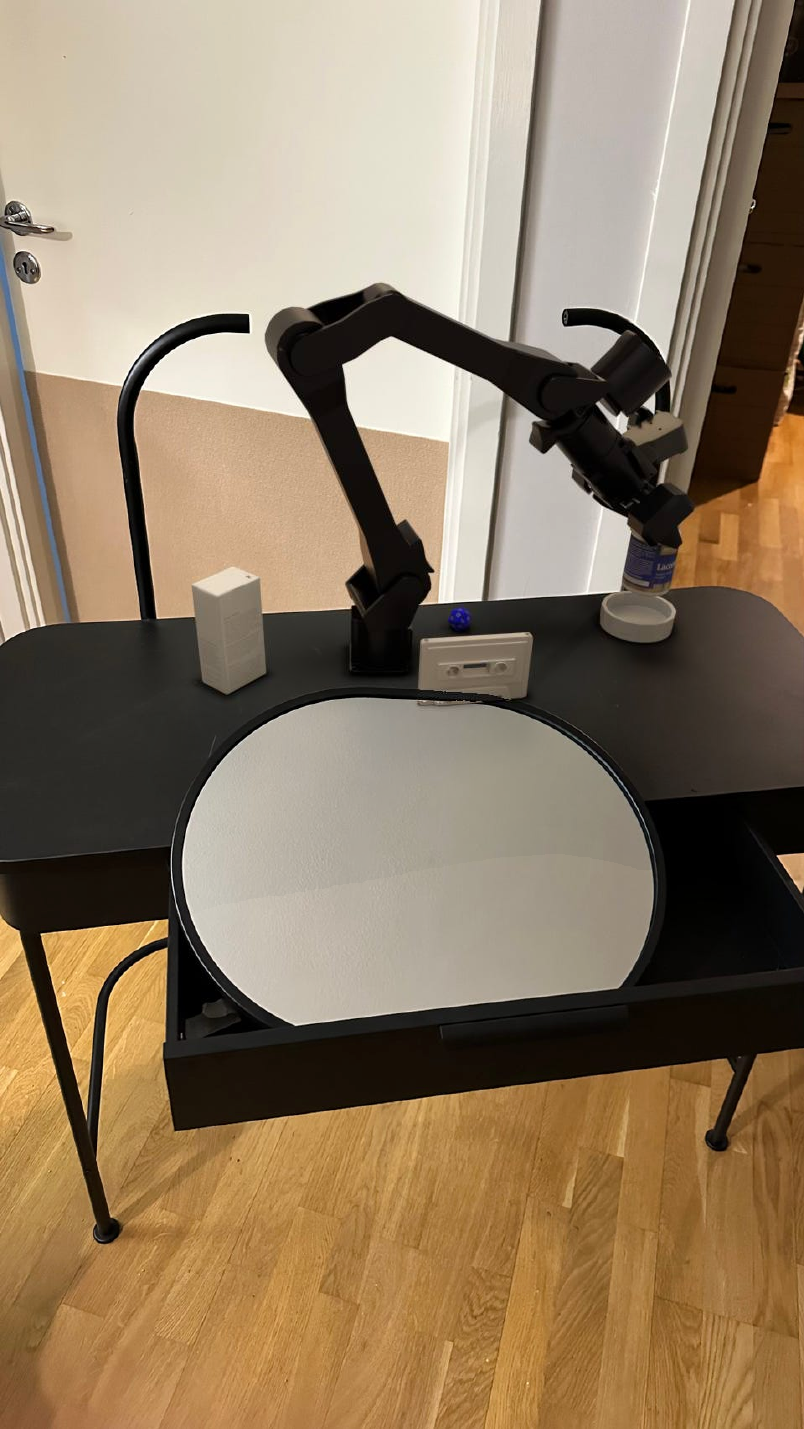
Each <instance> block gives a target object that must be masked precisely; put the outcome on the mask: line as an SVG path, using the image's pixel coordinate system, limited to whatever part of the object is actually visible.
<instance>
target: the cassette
mask: <svg viewBox="0 0 804 1429" xmlns="http://www.w3.org/2000/svg"><path fill="white" fill-rule="evenodd" d="M533 643H534V638H533V635H532V634H531V632H529V631H528V632H527V631H526V632H512V633H510V632H509V633H497V634H496V633H495V634H493V633H492V634H477V635H462V636H448V637H447V636H446V637H432V638H422V639H421V640H420V644H419V645H420V646H419V661H418V662H419V664H418V683H417V684H418V685H417V690H418V689H420V690H434V691H443V692H444V691H446V692H462V693H477V694H489V695H494V696H498V697H501V698H504V699H509V700H508V701H511V699H522V698H523V699H524V698H525V697H526V696H527V694H528V693H527V692H528V683H529V677H530V676H529V675H530V668H531V661H532V660H531V659H532V652H533V651H532V650H533ZM480 664H485V667H471V668H470V667H469V668H468V667H467V668H464V667H465V666H464V665H480ZM417 702H418V703H419V705H420V706H429V705H435V706H437V707H438V705H439V706H451V705H464V704H465V705H466V704H477V703H483V702H482V701H476V702H470V701H465V700H463V701H457V700H456V701H451V702H445V701H443V703H441V702H439V703H437V702H435V701H426V702H423V701H418V700H417Z"/></svg>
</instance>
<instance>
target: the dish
mask: <svg viewBox="0 0 804 1429" xmlns="http://www.w3.org/2000/svg"><path fill="white" fill-rule="evenodd" d="M676 614H677V610H676V608H675V606H674V605H673V603H671V602H670V601H668V600H667V599H665V597H661V596H656V597H647V596H641V595H637V594H634V593H632V592H630V591H628V590H622V591H617V592H613V593H610V594H608V595H607V596H605V597H603V601H602V602H601V608H600V613H599V624H600V627H601V628H602V629H603V630H604V631H605V632H607V634H609V635H611V636H613V637H615V638H616V639H617V638H618V639H620V640H624V641H627V642H633V643H642V644H643V643H644V644H645V643H646V644H647V643H648V644H649V643H656V642H660V641H663V640H665V639H667V638H669V636H670V635H671V634H672V633H673V627H674V624H675V619H676Z"/></svg>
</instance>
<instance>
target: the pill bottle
mask: <svg viewBox="0 0 804 1429" xmlns="http://www.w3.org/2000/svg"><path fill="white" fill-rule="evenodd" d="M678 529H679V532H680V535H681V536H682V533H681V532H682V531H681V530H680V528H679V527H678ZM630 531H631V530H630ZM679 549H680V546H679V547H678V548H677V549H673V548H670V547H667V546H665V545H662V544H658V545H656V546H652V547H650V546H648V545H647V544H646V543H645V542H644V541H643V540H641V539H640V538H639V537H638V536H637V535H636V534H635V533H633V532H632V531H631V532H630V537H629V542H628V545H627V551H626V556H625V562H624V567H623V571H622V576H621V584H622V586H623V587H624V588H625V590H626V591H630V592H632V593H634V594H637V595H641V596H647V597H656V596H659V597H661V596H663V595H666V594H668V592H669V591H670V589H671V585H672V581H673V576H674V572H675V567H676V562H677V558H678V554H679Z"/></svg>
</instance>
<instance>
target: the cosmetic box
mask: <svg viewBox="0 0 804 1429" xmlns="http://www.w3.org/2000/svg"><path fill="white" fill-rule="evenodd" d="M191 592H192V593H191V594H192V603H193V611H194V619H195V620H194V621H195V627H196V639H197V645H198V654H199V662H200V664H199V665H200V672H201V681H202V683H204V685H205V684H206V685H207V686H209V687H210V688H211V687H212V688H213V689H215V690H217V691H219V692H221V693H223V694H224V695H230V694H231V693H233V692H235V691H236V690H238V689H241V688H243V687H244V686H245V685H248V684H250V683H251V682H253V681H255V680H257V679H259V678H260V677H262V676H264V675H266V674H267V665H266V664H267V661H266V648H265V634H264V620H263V619H264V618H263V604H262V603H263V602H262V590H261V578H260V577H259V576H257V575H255V574H253V573H250V572H248V571H246V570H244V569H241V568H239V567H236V566H230V567H228V568H226V569H224V570H222V571H219V572H216V573H215V574H212V575H210V576H208V577H206V578H203V579H201V580H199V581H196V582H194V583H192V584H191Z"/></svg>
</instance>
